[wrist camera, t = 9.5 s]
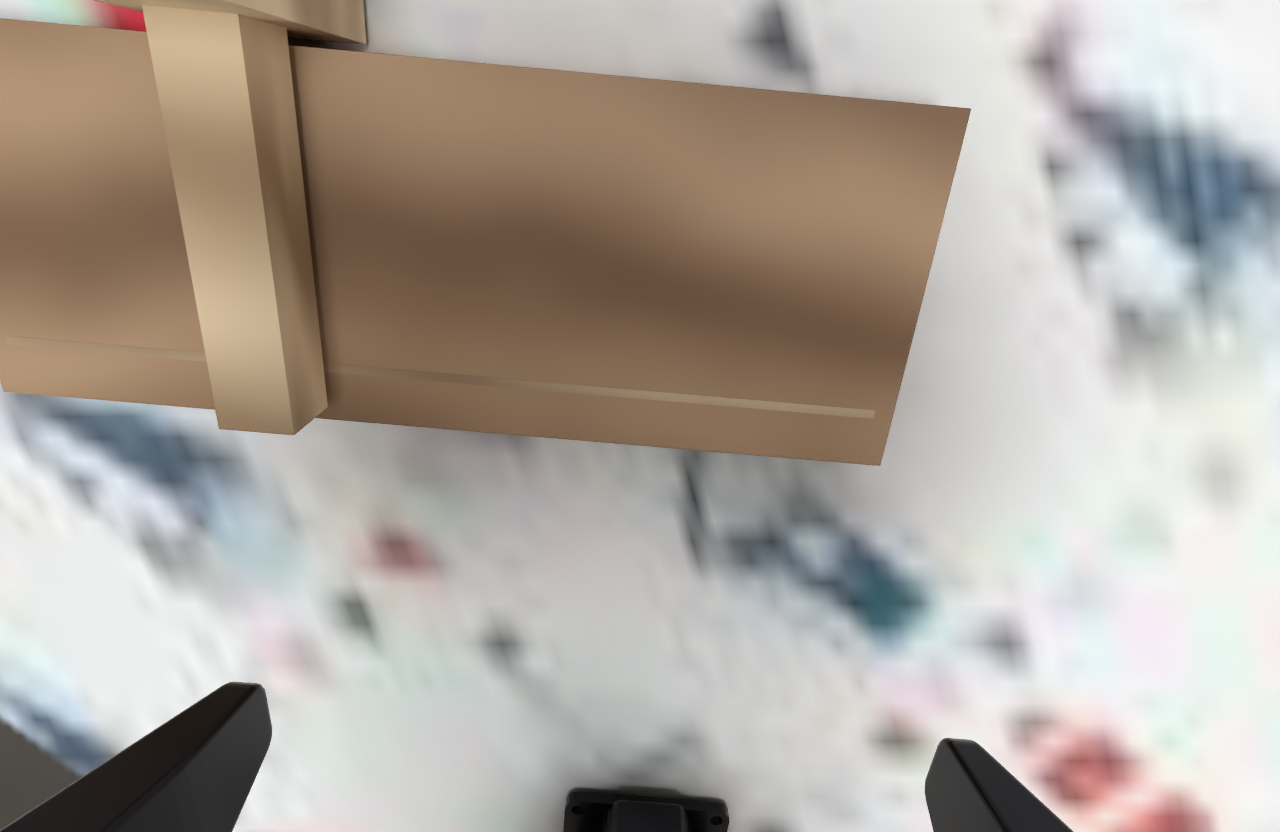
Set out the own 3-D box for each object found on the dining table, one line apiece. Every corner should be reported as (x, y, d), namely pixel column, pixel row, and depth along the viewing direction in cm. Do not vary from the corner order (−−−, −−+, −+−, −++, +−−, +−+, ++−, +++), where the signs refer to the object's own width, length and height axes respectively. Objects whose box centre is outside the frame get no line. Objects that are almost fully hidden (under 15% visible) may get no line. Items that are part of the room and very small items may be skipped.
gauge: (389, 381, 20) (260, 502, 13) (270, 371, 20) (82, 488, 13) (348, -221, 14) (95, -515, 8) (183, -237, 14) (-210, -548, 8)
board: (859, 435, 20) (880, 465, 18) (64, 367, 20) (3, 391, 18) (935, 111, 17) (971, 108, 15) (-31, 21, 16) (-118, 7, 14)
